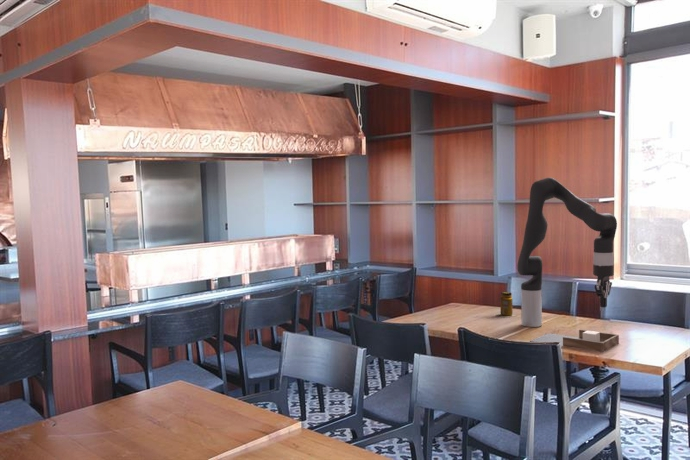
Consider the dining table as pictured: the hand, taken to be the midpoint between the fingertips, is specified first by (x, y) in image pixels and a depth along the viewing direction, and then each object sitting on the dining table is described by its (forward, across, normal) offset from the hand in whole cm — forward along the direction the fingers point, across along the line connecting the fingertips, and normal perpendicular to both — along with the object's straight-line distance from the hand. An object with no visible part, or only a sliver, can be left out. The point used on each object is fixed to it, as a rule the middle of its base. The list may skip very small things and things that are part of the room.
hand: (603, 306), depth 234 cm
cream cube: (+16, 0, -5) cm, 17 cm away
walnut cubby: (+16, 0, -5) cm, 17 cm away
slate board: (+17, 0, -12) cm, 21 cm away
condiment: (+17, -38, -63) cm, 75 cm away
